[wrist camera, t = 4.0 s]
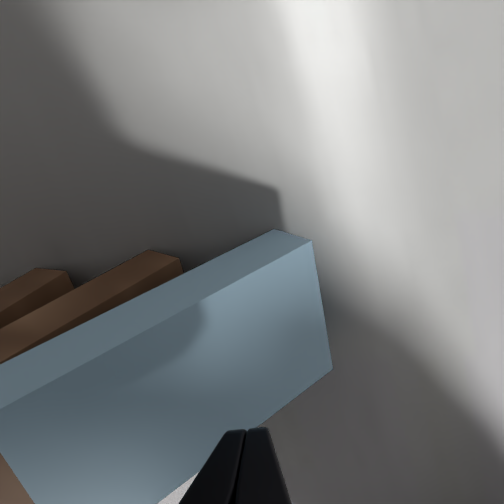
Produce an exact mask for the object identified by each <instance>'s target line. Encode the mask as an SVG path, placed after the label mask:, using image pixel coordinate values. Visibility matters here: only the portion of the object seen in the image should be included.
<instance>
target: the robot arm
mask: <svg viewBox="0 0 504 504" xmlns="http://www.w3.org/2000/svg"><path fill="white" fill-rule="evenodd" d="M179 504H292V503H291V500H290V497H289V494H288V490H287V487H286V484H285V481H284V478H283V475H282V471H281V468H280V465H279V462H278V459H277V455H276V452H275V449H274V446H273V443H272V440H271V436H270V433H269V430H268V429H267V428H266V427H260V428H250V429H248V431H247V430H245V429H236V430H228V431H226V432H225V433H224V435H223V436H222V438H221V439H220V441H219V442H218V444H217V445H216V447H215V448H214V450H213V452H212V453H211V455H210V456H209V458H208V459H207V461H206V462H205V464H204V465H203V467H202V469H201V470H200V472H199V473H198V475H197V476H196V478H195V479H194V481H193V482H192V484H191V486H190V487H189V489H188V490H187V492H186V493H185V495H184V496H183V498H182V499H181V501H180V502H179Z"/></svg>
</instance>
